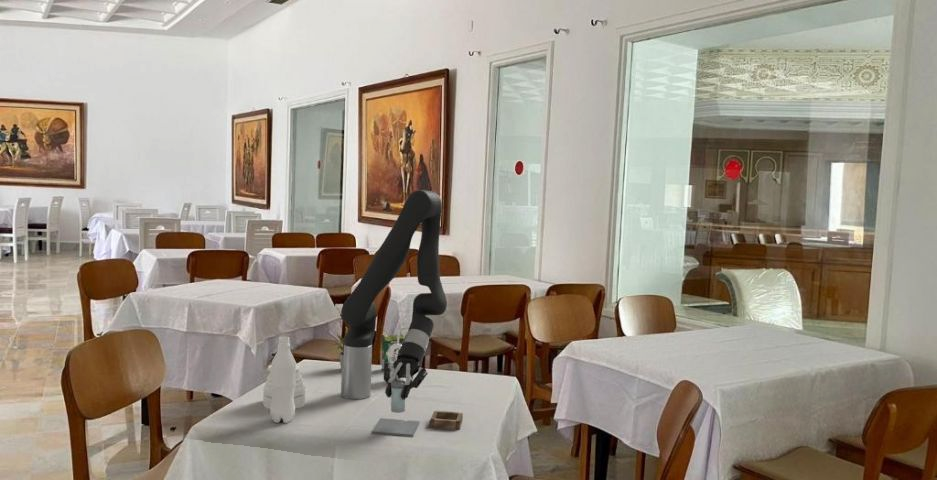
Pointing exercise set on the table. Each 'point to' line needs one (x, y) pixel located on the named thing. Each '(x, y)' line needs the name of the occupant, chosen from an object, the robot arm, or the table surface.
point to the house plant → (341, 348)
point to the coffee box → (386, 344)
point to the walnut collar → (446, 420)
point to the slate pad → (396, 427)
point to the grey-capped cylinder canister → (397, 396)
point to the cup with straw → (394, 351)
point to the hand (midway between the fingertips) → (395, 397)
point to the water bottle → (283, 383)
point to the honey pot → (298, 392)
